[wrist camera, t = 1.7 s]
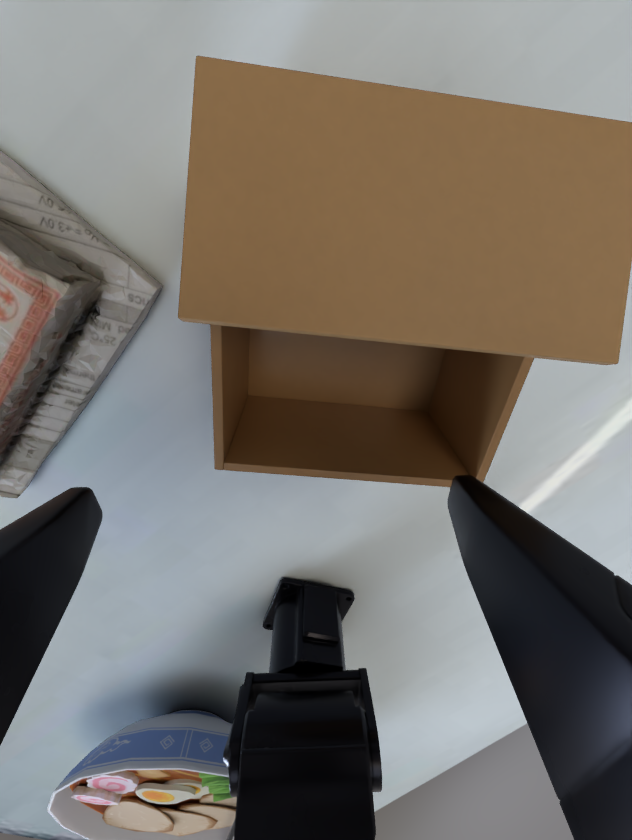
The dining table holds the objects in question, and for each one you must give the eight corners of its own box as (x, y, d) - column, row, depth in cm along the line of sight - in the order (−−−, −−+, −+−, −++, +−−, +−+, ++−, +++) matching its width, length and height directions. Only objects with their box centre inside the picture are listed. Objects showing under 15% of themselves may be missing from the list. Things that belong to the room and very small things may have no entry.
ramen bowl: (82, 651, 34) (20, 766, 27) (316, 677, 37) (319, 786, 29) (94, 763, 45) (54, 864, 38) (273, 775, 48) (267, 872, 41)
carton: (246, 135, 16) (202, 68, 9) (501, 170, 17) (627, 132, 10) (242, 397, 22) (214, 469, 15) (430, 414, 23) (480, 489, 16)
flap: (199, 69, 9) (195, 54, 9) (636, 135, 10) (650, 124, 9) (182, 321, 9) (176, 318, 9) (606, 365, 10) (618, 363, 10)
